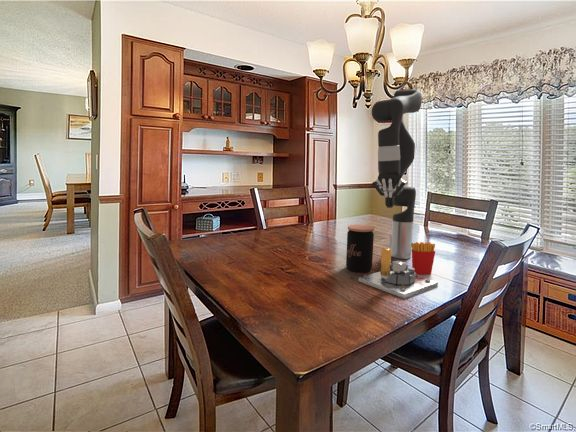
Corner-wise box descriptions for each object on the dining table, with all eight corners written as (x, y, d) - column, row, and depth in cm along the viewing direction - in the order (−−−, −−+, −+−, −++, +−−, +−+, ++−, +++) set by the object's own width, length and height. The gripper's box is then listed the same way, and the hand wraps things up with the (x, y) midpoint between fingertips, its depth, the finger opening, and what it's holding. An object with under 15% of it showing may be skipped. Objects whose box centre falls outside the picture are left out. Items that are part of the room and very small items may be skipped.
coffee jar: (341, 266, 147) (342, 225, 144) (362, 264, 151) (364, 223, 148) (354, 274, 137) (356, 230, 134) (377, 271, 141) (379, 228, 138)
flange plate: (358, 281, 130) (359, 260, 128) (392, 271, 141) (393, 252, 140) (404, 298, 114) (405, 275, 113) (437, 286, 125) (439, 265, 124)
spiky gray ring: (391, 272, 135) (393, 239, 133) (419, 279, 127) (421, 244, 125) (367, 282, 123) (369, 247, 121) (397, 291, 115) (399, 253, 113)
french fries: (430, 272, 141) (433, 241, 139) (434, 275, 137) (437, 243, 135) (408, 271, 142) (410, 240, 140) (410, 274, 138) (413, 243, 136)
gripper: (366, 160, 123) (368, 208, 126) (402, 159, 114) (403, 210, 117) (376, 158, 128) (378, 204, 132) (411, 157, 119) (412, 206, 123)
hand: (390, 207), depth 125 cm, fingers closed
